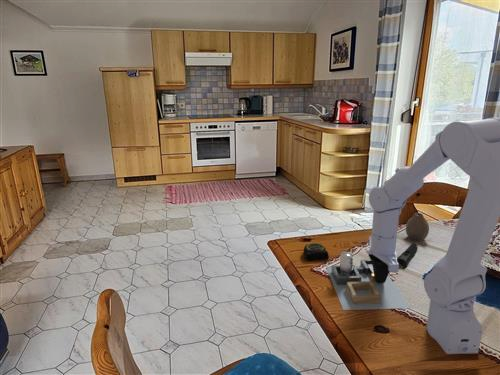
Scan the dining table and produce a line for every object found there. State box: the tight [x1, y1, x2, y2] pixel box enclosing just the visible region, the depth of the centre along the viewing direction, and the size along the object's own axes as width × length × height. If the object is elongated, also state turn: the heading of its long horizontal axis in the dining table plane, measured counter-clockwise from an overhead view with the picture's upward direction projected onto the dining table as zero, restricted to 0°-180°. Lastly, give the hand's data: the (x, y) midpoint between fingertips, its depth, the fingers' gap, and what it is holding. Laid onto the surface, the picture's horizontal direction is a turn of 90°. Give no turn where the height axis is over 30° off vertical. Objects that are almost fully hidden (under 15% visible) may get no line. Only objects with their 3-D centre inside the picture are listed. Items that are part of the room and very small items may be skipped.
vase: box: [405, 212, 430, 242], centre depth 109 cm, size 7×7×9 cm
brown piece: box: [347, 281, 381, 304], centre depth 80 cm, size 6×6×2 cm
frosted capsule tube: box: [339, 251, 354, 276], centre depth 87 cm, size 3×3×7 cm
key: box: [367, 264, 376, 282], centre depth 88 cm, size 6×3×2 cm, turn 179°
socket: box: [331, 258, 372, 285], centre depth 89 cm, size 9×13×2 cm
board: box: [325, 265, 412, 311], centre depth 85 cm, size 19×16×1 cm
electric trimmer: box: [397, 242, 419, 270], centre depth 97 cm, size 4×15×3 cm, turn 139°
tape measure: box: [303, 242, 330, 262], centre depth 100 cm, size 7×7×4 cm
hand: (380, 281), depth 85 cm, fingers closed
